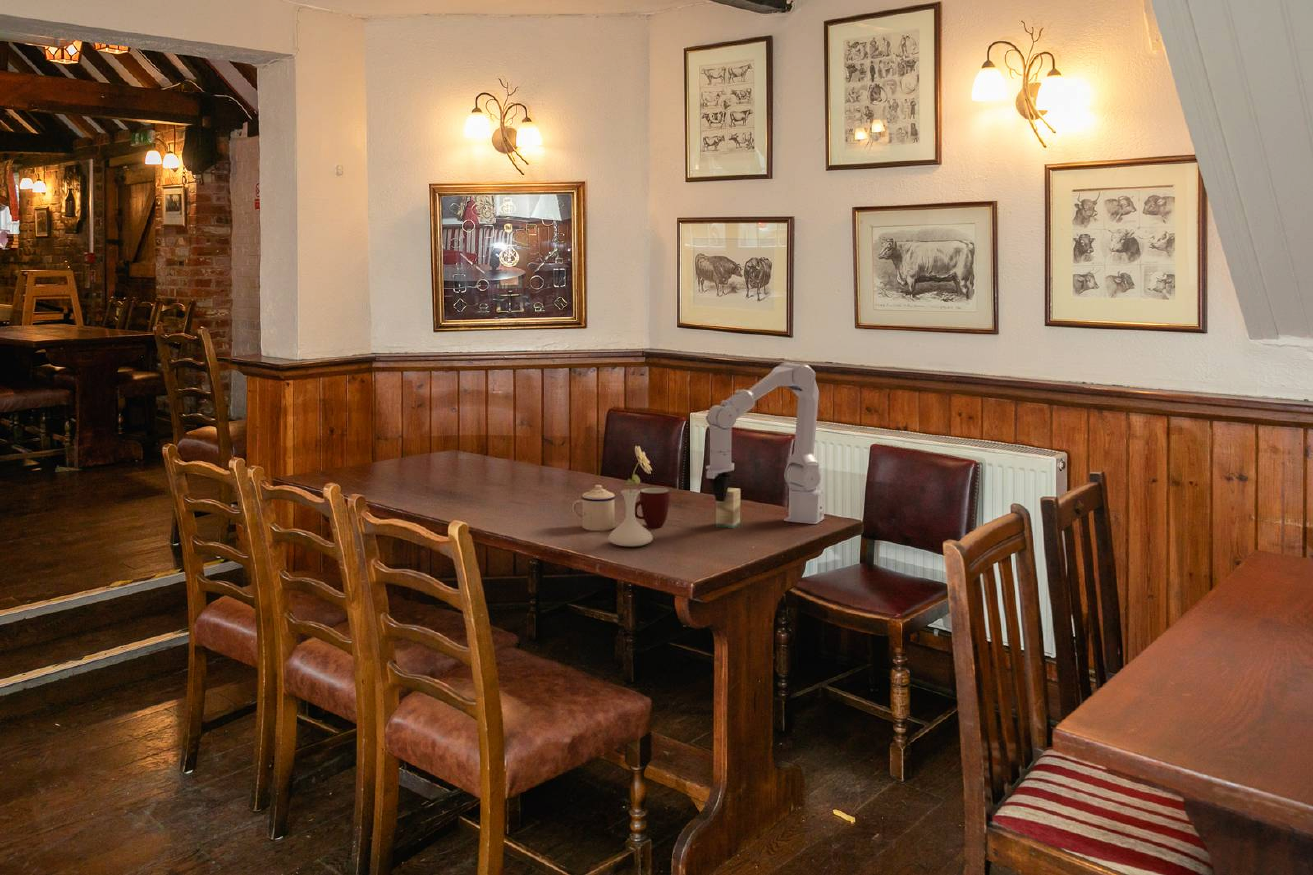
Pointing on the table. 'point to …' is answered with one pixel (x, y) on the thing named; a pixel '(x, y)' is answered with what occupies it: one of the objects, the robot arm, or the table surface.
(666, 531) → the table surface
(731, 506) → the birch block
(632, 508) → the flower in vase
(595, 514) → the teacup with lid
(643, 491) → the mug
